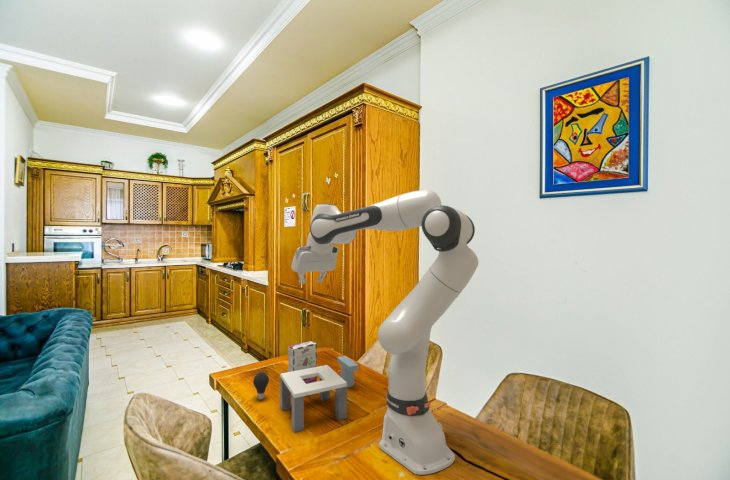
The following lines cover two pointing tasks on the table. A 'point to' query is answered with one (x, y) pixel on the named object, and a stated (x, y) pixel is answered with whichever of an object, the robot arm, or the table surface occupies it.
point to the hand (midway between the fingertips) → (311, 282)
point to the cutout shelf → (311, 392)
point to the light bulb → (261, 384)
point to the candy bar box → (303, 358)
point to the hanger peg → (347, 369)
